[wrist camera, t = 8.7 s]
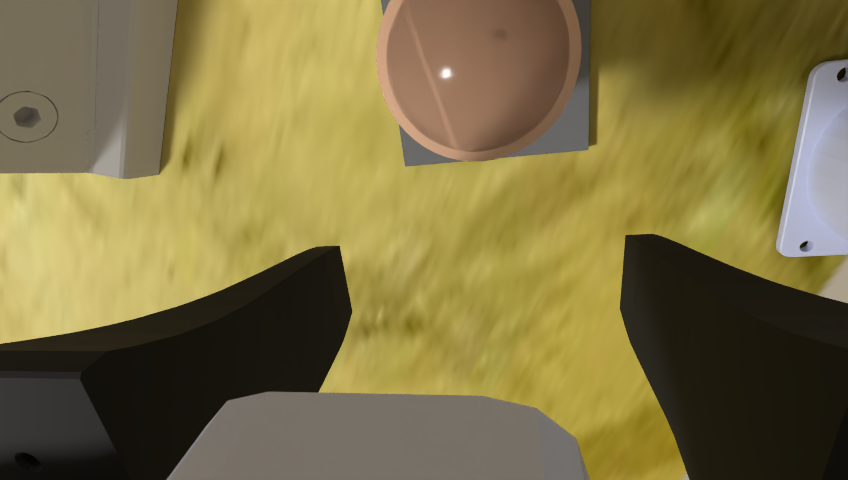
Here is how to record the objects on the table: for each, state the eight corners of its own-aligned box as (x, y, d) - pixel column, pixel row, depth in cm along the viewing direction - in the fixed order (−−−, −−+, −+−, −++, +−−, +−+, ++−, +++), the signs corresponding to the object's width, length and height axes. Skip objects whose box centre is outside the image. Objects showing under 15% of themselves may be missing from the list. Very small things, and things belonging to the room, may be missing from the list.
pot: (557, -41, 17) (584, -77, 11) (556, 120, 19) (579, 153, 14) (403, -17, 18) (361, -40, 12) (420, 132, 20) (391, 168, 15)
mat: (589, -38, 17) (591, -40, 17) (586, 147, 20) (588, 149, 19) (382, -5, 18) (380, -6, 18) (406, 164, 21) (405, 166, 21)
